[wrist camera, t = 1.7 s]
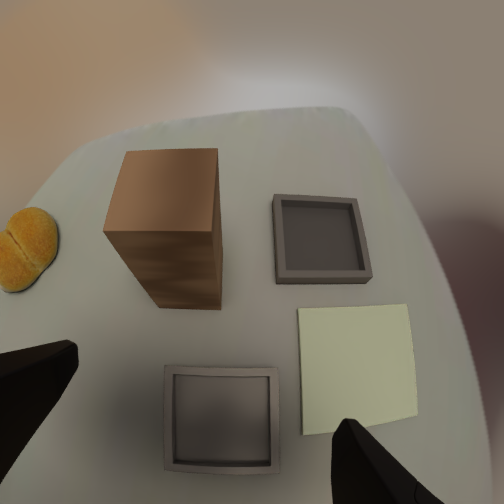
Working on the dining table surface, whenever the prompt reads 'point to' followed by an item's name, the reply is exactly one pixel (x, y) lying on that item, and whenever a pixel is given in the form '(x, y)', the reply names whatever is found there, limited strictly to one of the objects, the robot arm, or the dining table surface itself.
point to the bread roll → (26, 248)
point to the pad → (355, 366)
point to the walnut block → (170, 225)
